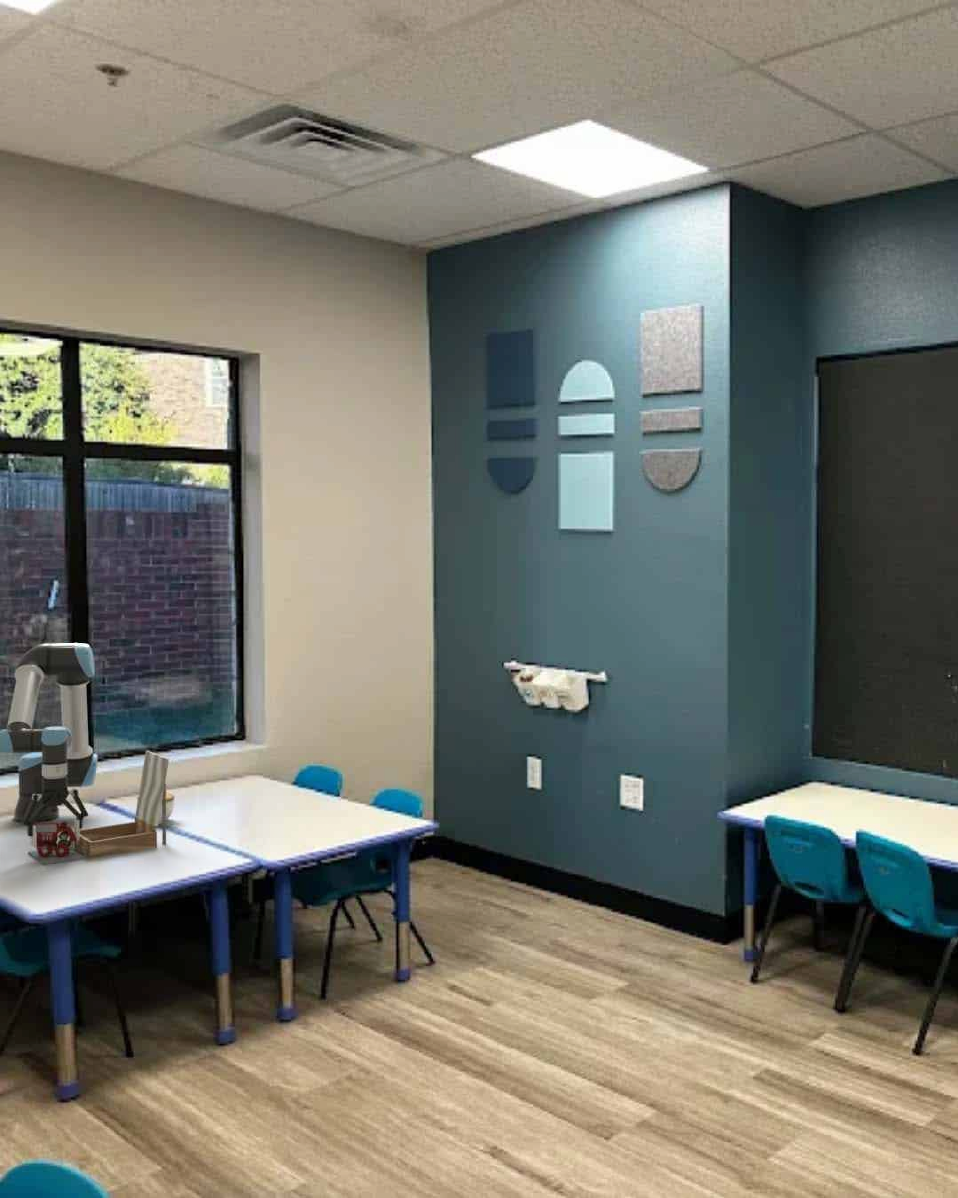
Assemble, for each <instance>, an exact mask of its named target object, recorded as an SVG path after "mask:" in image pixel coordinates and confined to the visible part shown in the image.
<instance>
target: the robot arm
mask: <svg viewBox="0 0 958 1198" xmlns="http://www.w3.org/2000/svg"><path fill="white" fill-rule="evenodd" d="M94 658H95V657H94V653H93V650H92V648H91V646H90V645H89V644H88V643H78V642H73V643H72V642H71V643H65V642H64V643H50V642H49V643H47V642H46V643H40V644H38V645H35V646H33V647H32V648H30V649H29V650H28V651H26V652H25V653H24V654H23V656H21V658H20V659H19V660H18V662H17V663H16V666H15V669H14V670H15V671H14V679H15V680H16V682H15V685H14V691H13V696H12V702H11V706H10V711H9V716H8V722H7V726H6V728H5V729H0V753H1V754H11V755H13V754H23V755H22V756H21V757H20V758H19V759H18V769H17V771H18V799H17V802H16V805H15V808H14V811H13V819H14V820H15V821H16V820H18V821H17V822H20V821H21V822H20V824H22V825H23V826H26V827H27V836H28V837H29V838H30V846H31V848H32V847H33V848H36V837H37V833H36V826H35V825H36V823H38V822H37V821H41V822H46V820H48V821H52V820H55V819H57V818H59V816H60V809H59V806H62V805H64V806H65V807H66V808H67V809H68V811H70V812H71V814H73V815H74V816H75V817H76V818H74V819H73V831H74V834H75V836H76V838H77V840H80V839H79V830H83V820H84V818H85V817H88V816H89V812H88V811H87V810H86V807H85V805H84V804H83V802H82V800H81V798H80V796H79V790H78V789H76V788H86V787H91V786H93V785H94V783H95V781H96V773H97V767H98V757H99V756H98V754H97V753H94V749H93V747H92V746H90V745H89V730H88V729H89V728H88V722H89V721H88V703H87V702H88V701H87V700H88V698H87V685H88V684H89V683H90V682H91V678H92V677H94V676H95V673H96V670H95V659H94ZM45 678H54V679H55V684H57V686H59V687H60V690H59V691H60V705H61V709H60V710H61V726H56V725H55V726H54V725H53V726H47V727H44V728H33V724H34V719H35V714H36V708H37V703H38V702H37V701H38V698H39V691H40V685H41V684H42V683H43V682H44V680H45ZM25 753H26V754H25ZM68 788H71V789H68ZM69 795H70V796H71V797H72V798H73V801H74V802H75V805H76V806H77V807H78V809H79V811H78V810H77V809H76V808H75V807H74V806H73V805H72V804H71V802H70V801H68V800H67V798H68V797H69Z"/></svg>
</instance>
